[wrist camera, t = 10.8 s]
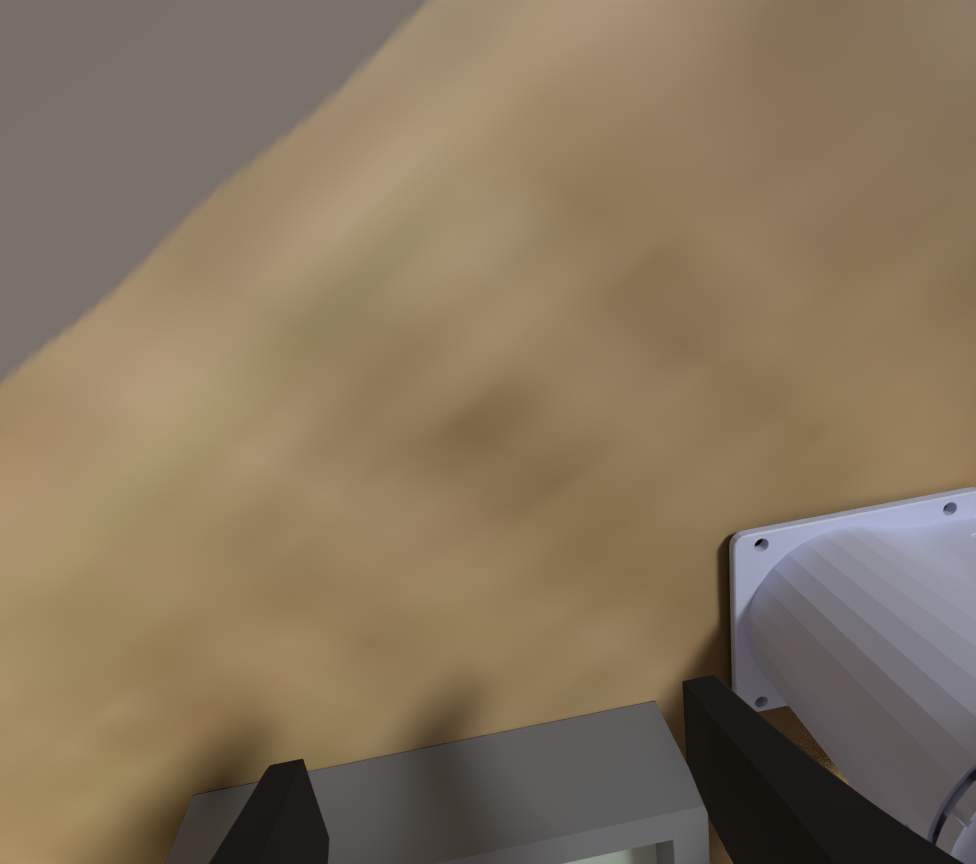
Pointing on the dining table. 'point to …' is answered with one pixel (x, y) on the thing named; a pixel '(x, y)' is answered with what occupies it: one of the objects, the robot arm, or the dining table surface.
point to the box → (500, 800)
